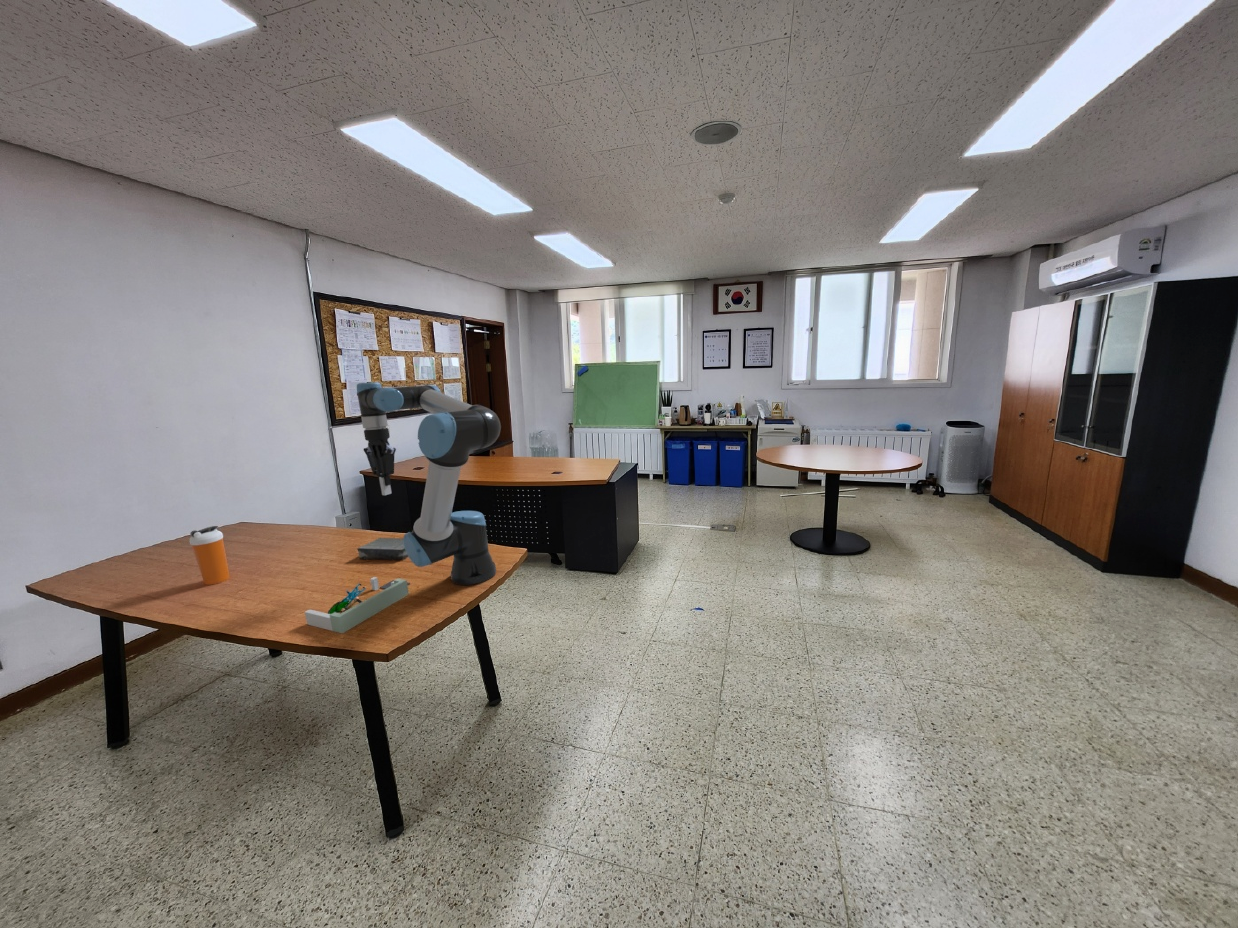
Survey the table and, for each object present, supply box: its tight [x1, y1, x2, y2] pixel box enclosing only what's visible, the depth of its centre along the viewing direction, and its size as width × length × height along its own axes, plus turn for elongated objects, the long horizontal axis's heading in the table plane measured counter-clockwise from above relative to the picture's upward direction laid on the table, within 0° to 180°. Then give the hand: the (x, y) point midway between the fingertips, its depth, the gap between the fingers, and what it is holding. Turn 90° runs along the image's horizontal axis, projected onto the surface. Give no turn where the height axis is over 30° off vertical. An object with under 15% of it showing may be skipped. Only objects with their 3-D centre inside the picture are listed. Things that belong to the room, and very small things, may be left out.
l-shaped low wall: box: [304, 576, 394, 632], centre depth 136 cm, size 11×23×4 cm, turn 158°
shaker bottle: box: [188, 525, 231, 586], centre depth 159 cm, size 9×9×20 cm
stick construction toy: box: [327, 582, 367, 614], centre depth 136 cm, size 12×7×8 cm
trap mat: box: [379, 579, 411, 590], centre depth 150 cm, size 8×6×1 cm
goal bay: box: [330, 578, 410, 634], centre depth 133 cm, size 4×23×5 cm, turn 158°
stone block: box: [357, 537, 409, 561], centre depth 179 cm, size 14×20×5 cm
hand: (386, 494), depth 155 cm, fingers closed
